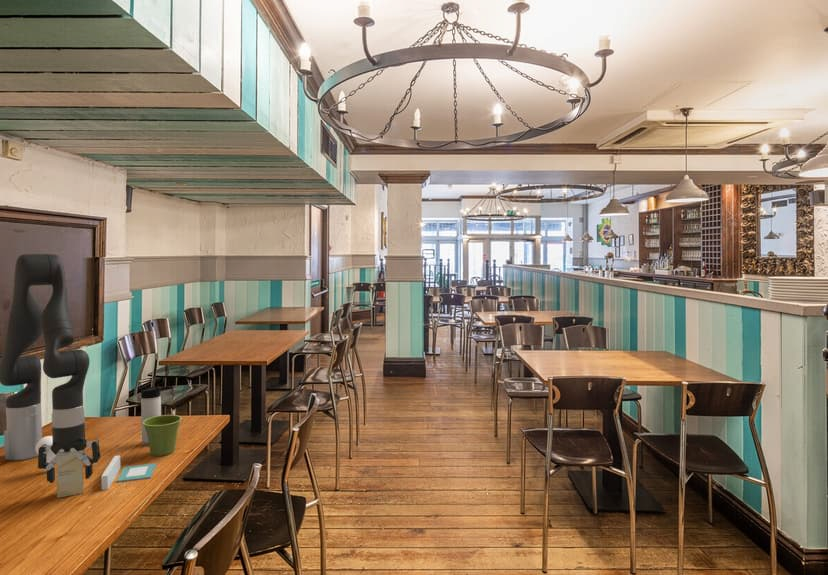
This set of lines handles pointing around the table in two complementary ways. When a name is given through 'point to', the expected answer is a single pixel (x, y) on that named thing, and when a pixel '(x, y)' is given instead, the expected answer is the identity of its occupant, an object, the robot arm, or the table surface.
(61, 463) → the skincare box
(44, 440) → the lightbulb
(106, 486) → the divider wall
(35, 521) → the table surface
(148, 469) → the resting pad
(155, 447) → the plant pot
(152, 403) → the travel mug
